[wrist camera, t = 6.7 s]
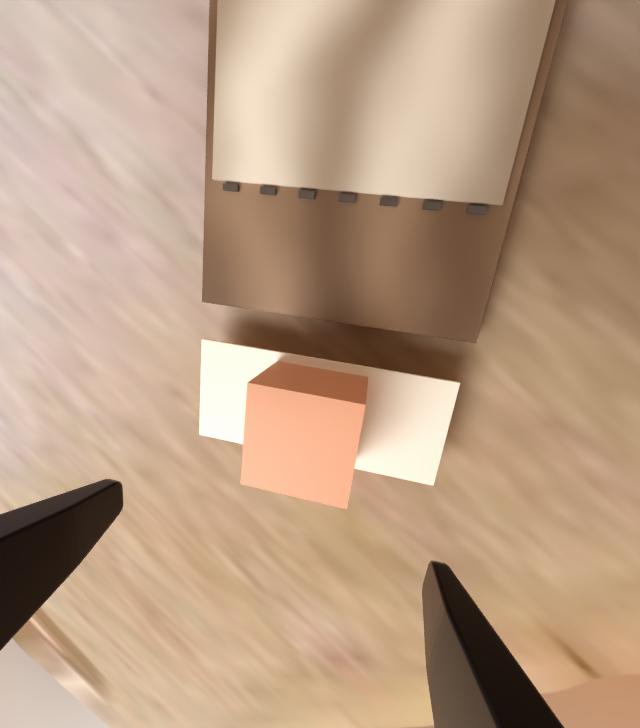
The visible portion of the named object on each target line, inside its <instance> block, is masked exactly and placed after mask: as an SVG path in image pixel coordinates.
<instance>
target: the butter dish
mask: <svg viewBox="0 0 640 728" xmlns="http://www.w3.org/2000/svg"><path fill="white" fill-rule="evenodd" d="M459 386H460V382H457V381H451V380H445V379H439V378H433V377H427V376H421V375H415V374H409V373H404V372H398V371H392V370H386V369H380V368H374V367H368V366H362V365H356V364H350V363H345V362H339V361H333V360H327V359H321V358H315V357H309V356H303V355H297V354H291V353H285V352H280V351H274V350H268V349H262V348H256V347H250V346H244V345H238V344H232V343H226V342H221V341H215V340H209V339H202V346H201V385H200V425H199V435H203V436H208V437H213V438H217V439H222V440H226V441H231V442H235V443H240V444H243V454H242V469H241V483H240V484H243V485H247V486H251V487H255V488H259V489H264V490H268V491H272V492H276V493H280V494H285V495H289V496H293V497H297V498H301V499H306V500H310V501H314V502H318V503H322V504H327V505H331V506H335V507H339V508H343V509H347V506H348V500H349V495H350V489H351V484H352V478H353V473H354V469H359V470H364V471H368V472H373V473H377V474H382V475H386V476H391V477H396V478H400V479H405V480H409V481H414V482H419V483H423V484H428V485H432V486H433V485H434V481H435V477H436V474H437V470H438V466H439V462H440V458H441V455H442V451H443V447H444V443H445V439H446V436H447V432H448V428H449V424H450V420H451V417H452V413H453V409H454V405H455V401H456V398H457V394H458V390H459Z"/></svg>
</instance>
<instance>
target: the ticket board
mask: <svg viewBox="0 0 640 728" xmlns="http://www.w3.org/2000/svg"><path fill="white" fill-rule="evenodd" d="M567 2H568V0H210V9H209V49H208V89H207V129H206V169H205V209H204V249H203V289H202V302H206V303H213V304H220V305H226V306H233V307H239V308H246V309H253V310H259V311H266V312H273V313H279V314H286V315H292V316H299V317H306V318H312V319H319V320H326V321H332V322H339V323H346V324H352V325H359V326H365V327H372V328H379V329H385V330H392V331H399V332H405V333H412V334H418V335H425V336H432V337H438V338H445V339H452V340H458V341H465V342H471V343H476V342H477V338H478V335H479V331H480V327H481V323H482V320H483V316H484V312H485V309H486V305H487V301H488V297H489V294H490V290H491V286H492V282H493V279H494V275H495V271H496V267H497V264H498V260H499V256H500V253H501V249H502V245H503V241H504V238H505V234H506V230H507V226H508V223H509V219H510V215H511V211H512V208H513V204H514V200H515V197H516V193H517V189H518V185H519V182H520V178H521V174H522V170H523V167H524V163H525V159H526V155H527V152H528V148H529V144H530V141H531V137H532V133H533V129H534V126H535V122H536V118H537V114H538V111H539V107H540V103H541V99H542V96H543V92H544V88H545V85H546V81H547V77H548V73H549V70H550V66H551V62H552V58H553V55H554V51H555V47H556V44H557V40H558V36H559V32H560V29H561V25H562V21H563V17H564V14H565V10H566V6H567Z"/></svg>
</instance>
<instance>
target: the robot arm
mask: <svg viewBox="0 0 640 728" xmlns="http://www.w3.org/2000/svg"><path fill="white" fill-rule="evenodd" d="M122 508H123V488H122V484H121V482H119V481H116V480H112V479H105V480H102V481H99V482H96V483H93V484H90V485H87V486H84V487H81V488H78V489H75V490H72V491H69V492H66V493H63V494H60V495H57V496H54V497H51V498H48V499H45V500H42V501H39V502H36V503H33V504H30V505H27V506H24V507H21V508H18V509H15V510H12V511H9V512H6V513H3V514H0V651H1V649H2V648H3V647H4V646H5V645H6V644H7V643H8V642H9V641H10V640H11V638H12V637H13V636H14V635H15V634H16V633H17V632H18V631H19V630H20V629H21V628H22V627H23V625H24V624H25V623H26V622H27V621H28V620H29V619H30V618H31V617H32V616H33V615H34V613H35V612H36V611H37V610H38V609H39V608H40V607H41V606H42V605H43V604H44V603H45V601H46V600H47V599H48V598H49V597H50V596H51V595H52V594H53V593H54V592H55V591H56V589H57V588H58V587H59V586H60V585H61V584H62V583H63V582H64V581H65V580H66V579H67V577H68V576H69V575H70V574H71V573H72V572H73V571H74V570H75V569H76V567H77V566H78V565H79V564H80V563H81V562H82V560H83V559H84V558H85V557H86V556H87V554H88V553H89V552H90V551H91V549H92V548H93V547H94V545H95V544H96V543H97V542H98V540H99V539H100V538H101V537H102V535H103V534H104V533H105V531H106V530H107V529H108V528H109V526H110V525H111V524H112V523H113V521H114V520H115V519H116V517H117V516H118V515H119V514H120V512H121V510H122ZM422 599H423V617H424V636H425V654H426V669H427V677H428V684H429V691H430V698H431V705H432V712H433V719H434V726H435V728H564V727H563V725H562V724H561V723H560V721H559V720H558V718H557V717H556V715H555V714H554V713H553V711H552V710H551V708H550V707H549V706H548V704H547V703H546V701H545V700H544V699H543V697H542V696H541V694H540V693H539V692H538V690H537V689H536V687H535V686H534V685H533V683H532V682H531V680H530V679H529V678H528V676H527V675H526V673H525V672H524V671H523V669H522V668H521V666H520V665H519V664H518V662H517V661H516V659H515V658H514V657H513V655H512V654H511V653H510V651H509V650H508V648H507V647H506V646H505V644H504V643H503V641H502V640H501V639H500V637H499V636H498V634H497V633H496V632H495V630H494V629H493V627H492V626H491V625H490V623H489V622H488V620H487V619H486V618H485V616H484V615H483V613H482V612H481V611H480V609H479V608H478V606H477V605H476V604H475V602H474V601H473V599H472V598H471V597H470V595H469V594H468V592H467V591H466V590H465V588H464V587H463V585H462V584H461V583H460V581H459V580H458V578H457V577H456V576H455V574H454V573H453V571H452V570H451V569H450V567H449V566H448V565H447V564H445V563H441V562H437V561H430V563H429V565H428V568H427V572H426V575H425V579H424V583H423V589H422Z"/></svg>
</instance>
